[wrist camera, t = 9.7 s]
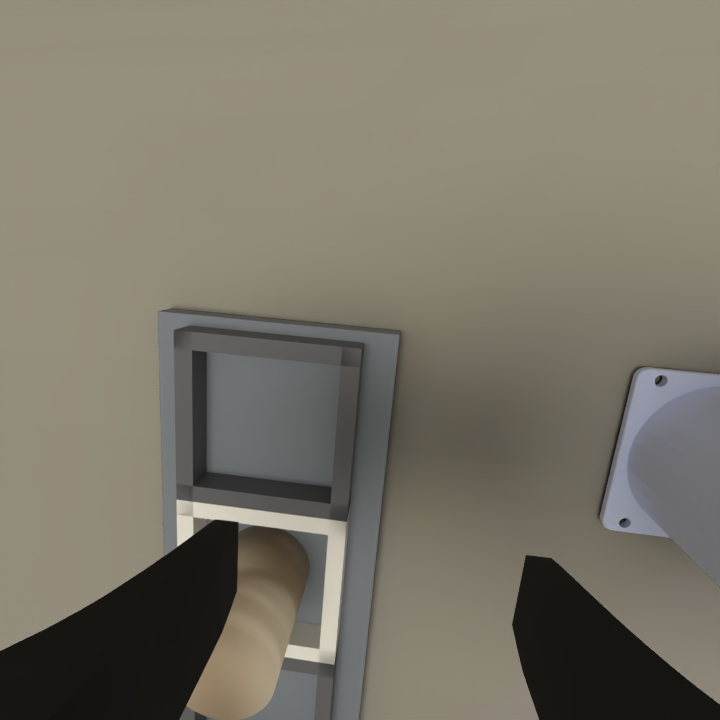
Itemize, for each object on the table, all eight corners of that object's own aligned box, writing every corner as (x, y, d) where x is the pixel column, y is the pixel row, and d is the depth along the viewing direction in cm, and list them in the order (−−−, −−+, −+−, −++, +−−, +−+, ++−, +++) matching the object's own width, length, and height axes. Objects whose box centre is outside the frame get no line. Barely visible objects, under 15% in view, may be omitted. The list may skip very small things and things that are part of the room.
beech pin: (312, 531, 21) (278, 634, 15) (306, 605, 22) (273, 728, 16) (226, 519, 21) (160, 615, 15) (224, 593, 22) (162, 709, 16)
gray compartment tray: (399, 330, 20) (399, 340, 17) (355, 743, 25) (351, 796, 23) (171, 308, 20) (139, 314, 18) (179, 713, 26) (155, 761, 24)
